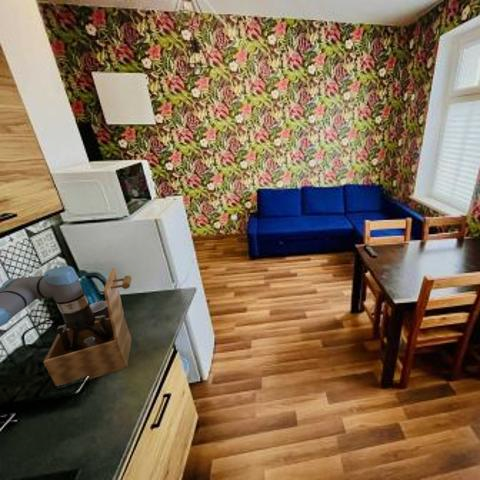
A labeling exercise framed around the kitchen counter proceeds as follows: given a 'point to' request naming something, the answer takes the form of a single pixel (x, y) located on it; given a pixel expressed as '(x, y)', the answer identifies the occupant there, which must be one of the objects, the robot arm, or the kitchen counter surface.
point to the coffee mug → (100, 309)
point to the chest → (88, 356)
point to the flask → (90, 342)
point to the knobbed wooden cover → (115, 300)
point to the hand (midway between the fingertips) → (96, 356)
